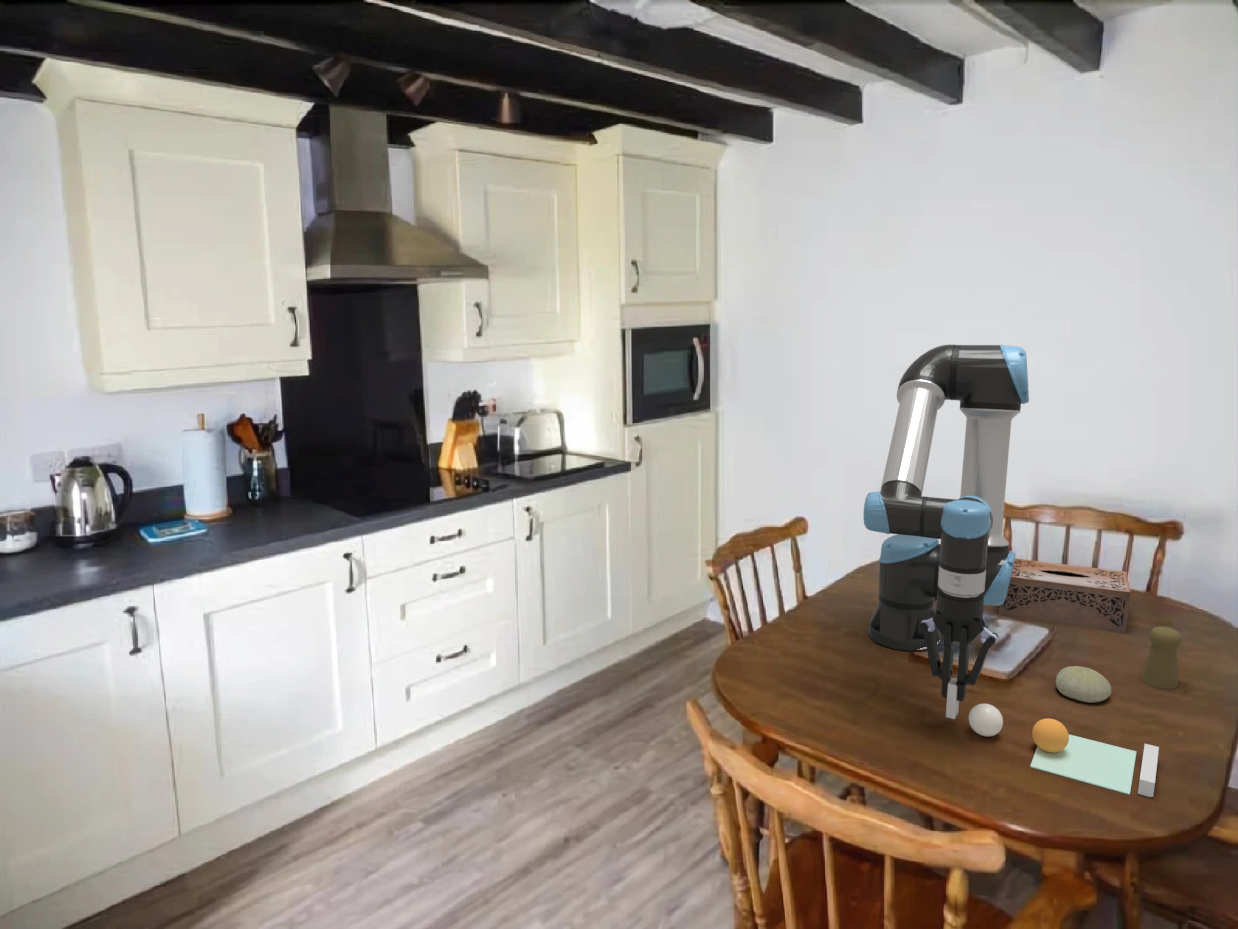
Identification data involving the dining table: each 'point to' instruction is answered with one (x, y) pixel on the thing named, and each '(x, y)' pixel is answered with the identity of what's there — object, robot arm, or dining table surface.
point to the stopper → (1148, 770)
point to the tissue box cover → (1068, 595)
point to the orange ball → (1050, 735)
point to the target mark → (1090, 763)
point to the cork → (1162, 658)
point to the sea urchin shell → (1083, 684)
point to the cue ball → (985, 720)
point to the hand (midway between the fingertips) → (952, 714)
